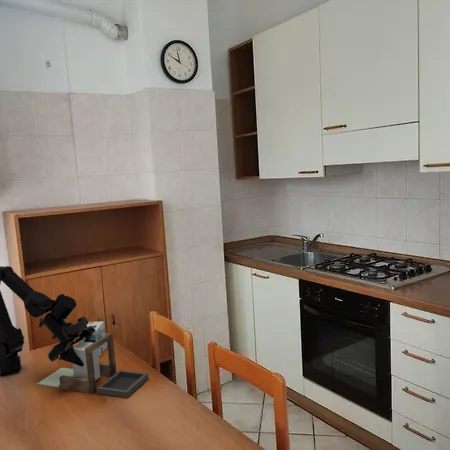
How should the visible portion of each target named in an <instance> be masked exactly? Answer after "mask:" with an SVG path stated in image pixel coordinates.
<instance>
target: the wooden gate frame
mask: <svg viewBox="0 0 450 450" xmlns="http://www.w3.org/2000/svg"><path fill="white" fill-rule="evenodd" d="M113 334H114V333H111V332H109V333H107V334H106V335H105V336H104V337H102V338H100V339H99V340H97V341H96V342H94V343H93V344H91V345H89V346H88V347H86V348H85V354H86V363H87V372H88V379H87V378H79V377H71V376H64V375H62V376H61V377H59V379H60V387H59V388H60V389H61V390H65V391H66V390H67V391H72V392H80V393H81V392H82V393H85V394H86V393H87V394H96V393H97V384H96V383H97V382H96V381H95V372H94V363H93V354H92V351H94V350H95V349H97V348H98V347H100V346H101V345H103V344H104V343H107V353H108V362H100V361H99V366H100V376H103V377H109V378H111V377H112V376H113V375H114V374H116V373H117V372H118V371H117V363H116V353H115V343H114V335H113Z"/></svg>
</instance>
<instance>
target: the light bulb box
mask: <svg viewBox="0 0 450 450" xmlns="http://www.w3.org/2000/svg"><path fill="white" fill-rule="evenodd" d="M89 326H92V327H93V328H94V329H95V330H96V331H95V332H94V333H93V335H92V337H91V343H94V342H96V341H97V340H99V339H100V338H102V337H104V336H105V335H107V334H106V324H105V321H88V325H87V327H89ZM81 332H82V331H81ZM81 332H80V333H81ZM107 348H108V346H107V342H106V343H104V344H103V345H101V346H100V347H98V356H99V358H100V356H102V354H103V352H104V351H105V350H106V349H107Z"/></svg>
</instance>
